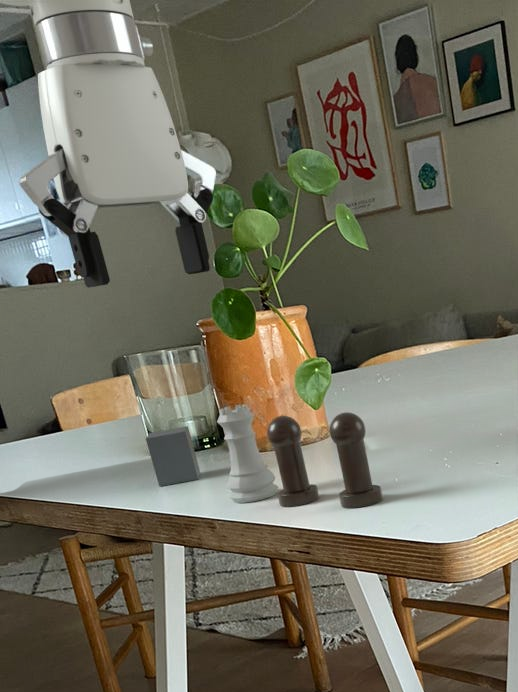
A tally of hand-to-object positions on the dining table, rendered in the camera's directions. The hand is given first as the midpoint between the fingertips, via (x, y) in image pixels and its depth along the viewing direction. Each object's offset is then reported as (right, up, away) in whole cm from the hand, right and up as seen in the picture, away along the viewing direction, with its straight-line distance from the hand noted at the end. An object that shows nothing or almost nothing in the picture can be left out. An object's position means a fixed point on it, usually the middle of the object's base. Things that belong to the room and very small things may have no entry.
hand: (150, 279), depth 81 cm
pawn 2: (+19, -20, -6) cm, 28 cm away
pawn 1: (+13, -20, -2) cm, 24 cm away
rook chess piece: (+8, -19, +3) cm, 21 cm away
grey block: (-3, -15, +17) cm, 23 cm away
